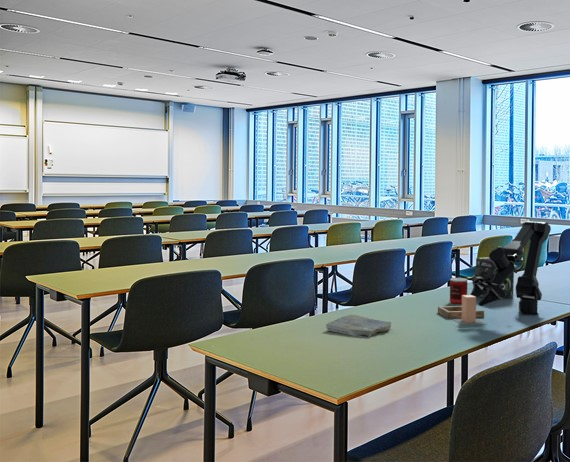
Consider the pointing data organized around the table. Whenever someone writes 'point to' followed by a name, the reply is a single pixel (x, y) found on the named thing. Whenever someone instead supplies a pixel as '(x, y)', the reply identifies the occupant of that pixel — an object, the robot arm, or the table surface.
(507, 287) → the box
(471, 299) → the block
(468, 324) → the mat
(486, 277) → the robot arm
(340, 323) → the fossil
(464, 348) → the table surface
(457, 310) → the tray
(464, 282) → the canned food
